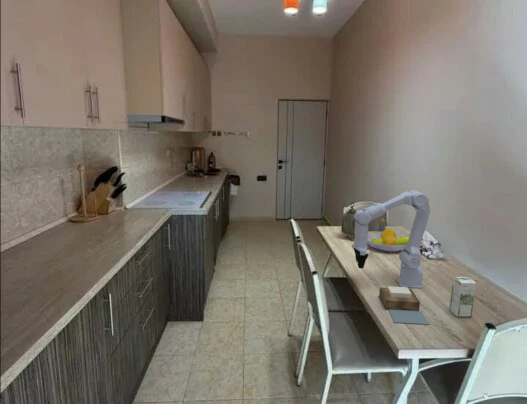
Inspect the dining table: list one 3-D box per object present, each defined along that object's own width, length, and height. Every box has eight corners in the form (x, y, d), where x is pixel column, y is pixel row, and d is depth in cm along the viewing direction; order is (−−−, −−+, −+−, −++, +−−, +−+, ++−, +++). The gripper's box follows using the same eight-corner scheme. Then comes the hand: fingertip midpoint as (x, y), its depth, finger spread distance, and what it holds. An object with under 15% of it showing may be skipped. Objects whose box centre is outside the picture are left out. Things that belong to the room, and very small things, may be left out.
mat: (421, 312, 139) (421, 311, 139) (429, 325, 129) (429, 324, 129) (388, 310, 140) (388, 309, 140) (394, 322, 131) (394, 321, 131)
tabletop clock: (354, 242, 227) (355, 204, 222) (340, 240, 232) (341, 203, 227) (359, 236, 240) (361, 200, 235) (346, 234, 244) (348, 199, 239)
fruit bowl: (356, 247, 216) (357, 230, 214) (380, 239, 234) (381, 222, 231) (399, 260, 195) (401, 240, 193) (421, 249, 213) (423, 231, 211)
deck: (410, 297, 151) (411, 288, 150) (419, 311, 139) (419, 302, 139) (379, 296, 153) (379, 287, 152) (385, 309, 141) (385, 300, 140)
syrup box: (463, 309, 140) (467, 275, 138) (472, 317, 135) (476, 282, 132) (449, 310, 140) (452, 276, 137) (457, 317, 134) (461, 282, 132)
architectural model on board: (383, 230, 255) (384, 217, 253) (384, 232, 252) (385, 218, 250) (367, 230, 255) (368, 217, 253) (368, 231, 252) (369, 218, 250)
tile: (407, 291, 148) (407, 287, 147) (411, 298, 142) (411, 293, 141) (387, 290, 149) (387, 286, 148) (390, 297, 143) (390, 292, 142)
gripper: (350, 231, 167) (349, 259, 170) (353, 241, 153) (352, 270, 156) (365, 232, 166) (364, 259, 169) (370, 241, 152) (369, 271, 155)
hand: (359, 264), depth 162 cm, fingers open, 7 cm apart
